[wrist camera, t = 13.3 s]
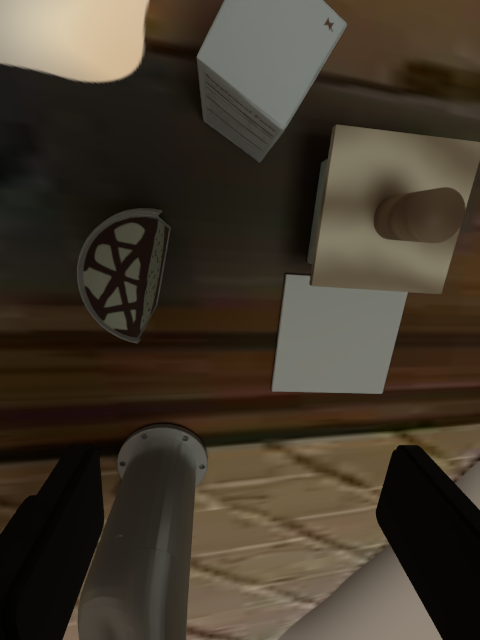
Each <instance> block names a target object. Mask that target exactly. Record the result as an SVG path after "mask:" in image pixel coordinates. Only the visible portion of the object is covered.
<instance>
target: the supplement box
mask: <svg viewBox="0 0 480 640" xmlns="http://www.w3.org/2000/svg"><path fill="white" fill-rule="evenodd" d="M346 27H347V23H346V22H345V21H344V20H343V19H342V18H341V17H340V16H338V15H337V14H336V13H335V12H334V11H333V10H332V9H331V8H330V7H329V6H328V5H327V4H326V3H325V2H324V1H323V0H224V2H223V4H222V6H221V8H220V10H219V12H218V14H217V16H216V18H215V20H214V22H213V24H212V26H211V28H210V30H209V32H208V34H207V36H206V38H205V40H204V42H203V44H202V46H201V48H200V50H199V53H198V54H197V57H196V58H197V65H198V75H199V85H200V95H201V104H202V113H203V121H204V122H205V123H207V124H208V125H209V126H211V127H212V128H214V129H215V130H216V131H218V132H219V133H220V134H222V135H223V136H224V137H226V138H227V139H228V140H230V141H231V142H232V143H234V144H235V145H236V146H238V147H239V148H240V149H242V150H243V151H244V152H246V153H247V154H248V155H250V156H251V157H252V158H254V159H255V160H256V161H258V162H259V163H260V162H261V161H262V160H263V158H264V157H265V155H266V154H267V153H268V151H269V150H270V149H271V148H272V146H273V145H274V144H275V142H276V141H277V140H278V139H279V137H280V136H281V135H282V133H283V132H284V130H285V128H286V127H287V125H288V124H289V122H290V120H291V119H292V117H293V115H294V114H295V112H296V111H297V109H298V107H299V106H300V104H301V102H302V101H303V99H304V97H305V95H306V94H307V92H308V90H309V89H310V87H311V85H312V84H313V82H314V80H315V79H316V77H317V75H318V74H319V72H320V70H321V68H322V67H323V65H324V63H325V62H326V60H327V58H328V57H329V55H330V53H331V52H332V50H333V48H334V46H335V45H336V43H337V41H338V40H339V38H340V36H341V35H342V33H343V32H344V30H345V28H346Z"/></svg>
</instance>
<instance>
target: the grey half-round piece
mask: <svg viewBox="0 0 480 640" xmlns="http://www.w3.org/2000/svg"><path fill="white" fill-rule="evenodd" d="M161 212H162V210H157V209H151V208H138V209H131V210H126V211H123V212H120V213H117V214H115V215H113V216H112V217H110V218H108V219H106V220H105V221H104V222H103V223H101V224H100V225H99V226H98V227H96V228H95V229H94V231H93V232H92V233H91V234H90V235H89V236H88V238H87V239H86V241H85V243H84V245H83V246H82V249H81V252H80V254H79V259H78V264H77V281H78V287H79V291H80V294H81V297H82V300H83V302H84V304H85V306H86V308H87V310H88V311H89V312H90V314H91V315H92V317H93V318H94V319H95V320H96V321H97V322H98V323H99V324H100V325H101V326H102V327H103V328H105V329H106V330H107V331H108V332H110V333H112V334H113V335H115V336H117V337H119V338H121V339H124V340H126V341H129V342H133V343H138V342H139V341H140V340H141V339H139V338H140V336H141V334H142V332H143V330H144V329H145V327H146V325H147V323H148V321H149V319H150V318H151V316H152V314H153V312H154V310H155V309H156V307H157V304H158V299H159V293H160V287H161V282H162V276H163V270H164V265H165V259H166V253H167V248H168V242H169V236H170V231H171V227H170V226H169V225H168V224H167V223H165V222H164V221H163V220H162V219H161V218H160V217H159V214H160V213H161Z"/></svg>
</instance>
